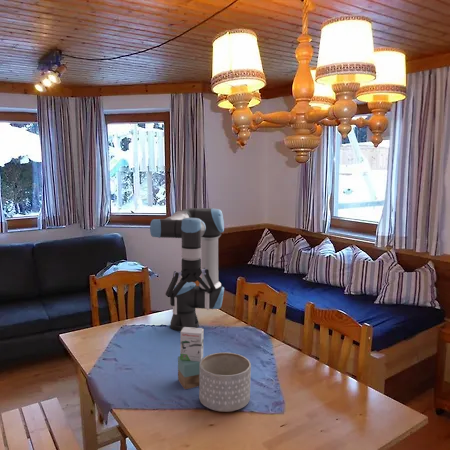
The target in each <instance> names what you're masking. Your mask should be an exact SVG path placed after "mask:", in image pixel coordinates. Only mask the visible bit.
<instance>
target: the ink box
mask: <svg viewBox="0 0 450 450" xmlns="http://www.w3.org/2000/svg"><path fill="white" fill-rule="evenodd" d="M204 334H205V333H204V328H203V327H198V328H191V327H183V328H182V330H181V331H180V337H179V338H180V340H179V341H180V344H179V345H180V347H179V349H180V351H179V353H180V355H179V356H180V360H186V361H198V362H200V361H201V359H202V358H204Z"/></svg>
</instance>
